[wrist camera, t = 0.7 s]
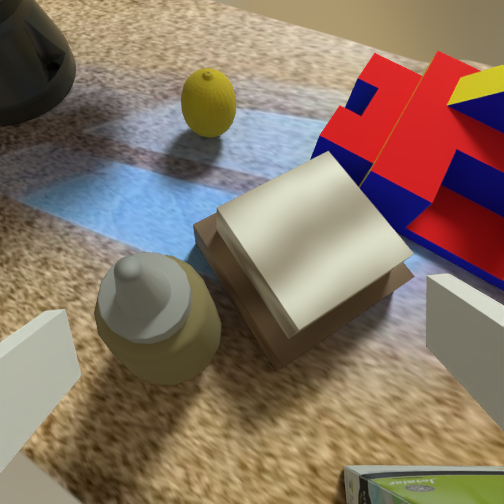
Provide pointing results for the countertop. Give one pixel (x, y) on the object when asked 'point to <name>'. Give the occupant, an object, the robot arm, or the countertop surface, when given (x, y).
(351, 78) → the countertop surface
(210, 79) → the lemon
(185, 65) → the countertop surface
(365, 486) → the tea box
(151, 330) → the squeeze bottle
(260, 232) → the box on wooden base
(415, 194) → the building blocks toy
